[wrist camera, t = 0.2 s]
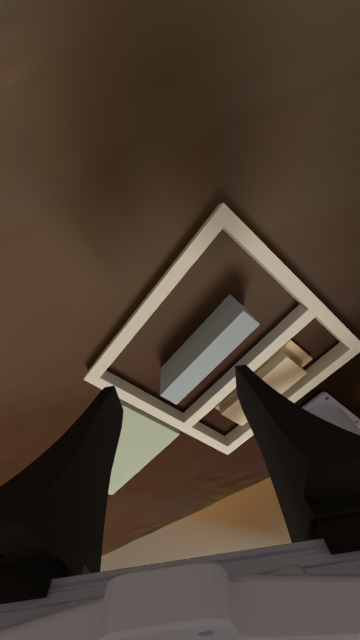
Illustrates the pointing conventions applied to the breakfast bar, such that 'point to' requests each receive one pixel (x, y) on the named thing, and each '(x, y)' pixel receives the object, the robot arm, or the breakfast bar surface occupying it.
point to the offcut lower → (290, 351)
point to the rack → (253, 359)
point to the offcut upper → (275, 374)
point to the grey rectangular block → (206, 349)
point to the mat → (138, 444)
